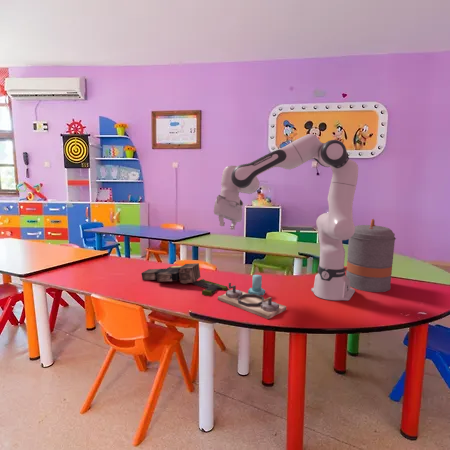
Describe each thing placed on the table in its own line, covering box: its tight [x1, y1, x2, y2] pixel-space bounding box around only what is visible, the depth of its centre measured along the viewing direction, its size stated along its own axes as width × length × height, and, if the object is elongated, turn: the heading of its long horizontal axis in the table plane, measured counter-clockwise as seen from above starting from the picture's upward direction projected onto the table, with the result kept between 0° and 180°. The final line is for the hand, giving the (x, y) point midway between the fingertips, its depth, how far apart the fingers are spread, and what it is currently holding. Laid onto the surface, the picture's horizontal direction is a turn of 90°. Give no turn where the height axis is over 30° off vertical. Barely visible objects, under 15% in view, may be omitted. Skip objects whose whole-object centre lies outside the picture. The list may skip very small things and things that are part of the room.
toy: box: [141, 262, 201, 285], centre depth 172 cm, size 16×9×30 cm
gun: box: [192, 278, 229, 297], centre depth 162 cm, size 2×19×15 cm
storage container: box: [345, 218, 397, 293], centre depth 168 cm, size 22×22×35 cm
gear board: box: [217, 282, 287, 320], centre depth 141 cm, size 13×28×8 cm, turn 46°
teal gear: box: [247, 274, 266, 296], centre depth 155 cm, size 8×8×8 cm
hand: (227, 227), depth 152 cm, fingers open, 8 cm apart
